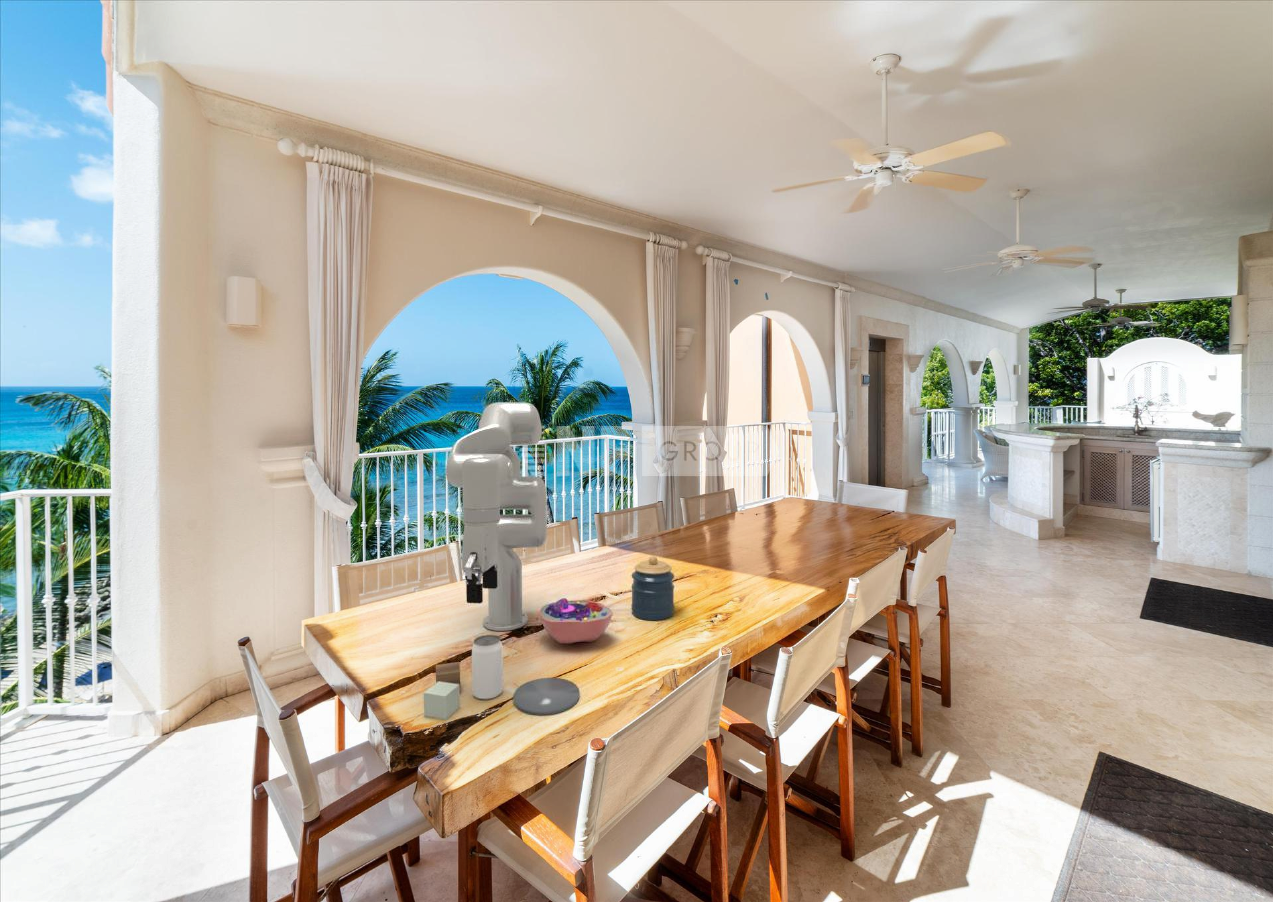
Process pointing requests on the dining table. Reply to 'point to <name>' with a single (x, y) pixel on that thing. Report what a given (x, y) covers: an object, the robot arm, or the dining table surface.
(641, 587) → the canister
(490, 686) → the can
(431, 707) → the sage block
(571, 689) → the trivet
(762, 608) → the dining table surface
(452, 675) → the walnut block
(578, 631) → the cell model
